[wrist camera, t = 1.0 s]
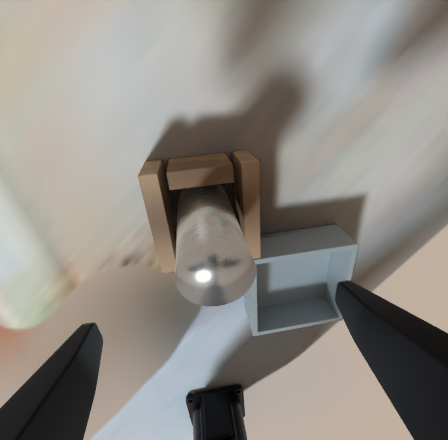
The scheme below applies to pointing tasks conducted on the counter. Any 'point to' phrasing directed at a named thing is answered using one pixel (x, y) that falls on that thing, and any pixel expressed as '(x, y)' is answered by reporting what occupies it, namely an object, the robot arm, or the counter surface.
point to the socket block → (194, 177)
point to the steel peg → (211, 248)
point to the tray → (299, 278)
